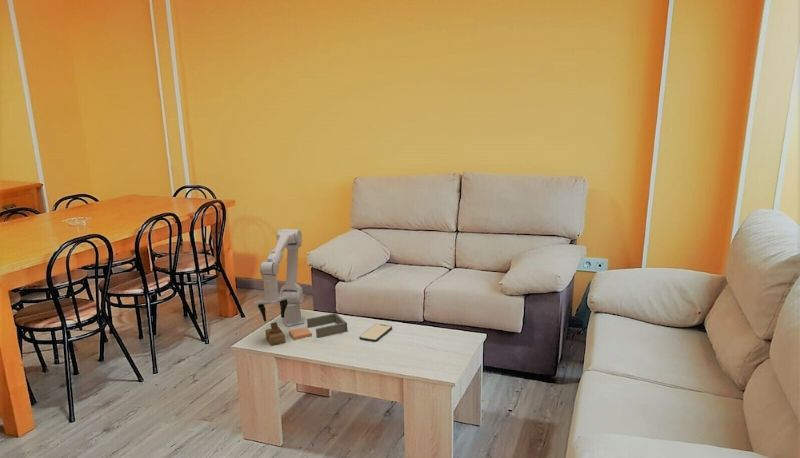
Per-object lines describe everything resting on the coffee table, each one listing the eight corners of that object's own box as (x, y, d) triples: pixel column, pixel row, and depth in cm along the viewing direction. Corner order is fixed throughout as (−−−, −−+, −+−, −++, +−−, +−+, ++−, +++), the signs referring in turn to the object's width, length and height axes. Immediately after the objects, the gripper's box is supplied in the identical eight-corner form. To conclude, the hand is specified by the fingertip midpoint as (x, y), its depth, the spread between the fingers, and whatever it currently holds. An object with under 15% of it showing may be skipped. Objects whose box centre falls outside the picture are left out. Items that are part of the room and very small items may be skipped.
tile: (289, 334, 262) (288, 330, 261) (306, 331, 265) (306, 327, 265) (294, 341, 255) (293, 336, 254) (311, 337, 258) (311, 333, 258)
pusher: (266, 338, 258) (264, 321, 257) (279, 335, 261) (278, 318, 259) (271, 346, 250) (270, 328, 248) (285, 343, 252) (284, 326, 250)
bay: (307, 327, 268) (306, 318, 267) (336, 321, 274) (336, 313, 273) (317, 337, 256) (316, 329, 255) (347, 331, 262) (346, 322, 261)
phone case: (376, 343, 249) (393, 329, 263) (375, 340, 249) (393, 326, 263) (358, 340, 253) (376, 326, 267) (357, 337, 253) (375, 323, 267)
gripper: (256, 294, 243) (259, 325, 246) (290, 288, 249) (292, 318, 253) (252, 289, 250) (255, 320, 253) (285, 284, 256) (288, 313, 259)
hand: (273, 319), depth 253 cm, fingers open, 7 cm apart
